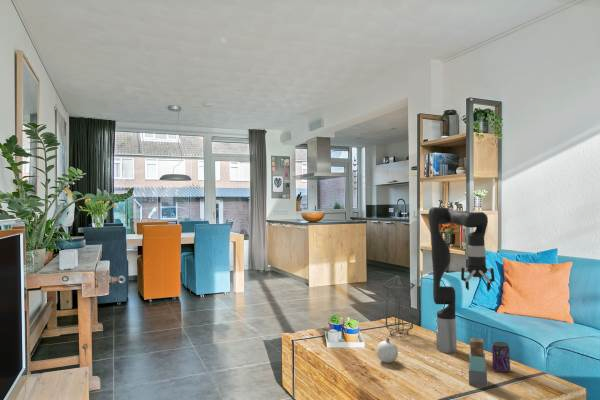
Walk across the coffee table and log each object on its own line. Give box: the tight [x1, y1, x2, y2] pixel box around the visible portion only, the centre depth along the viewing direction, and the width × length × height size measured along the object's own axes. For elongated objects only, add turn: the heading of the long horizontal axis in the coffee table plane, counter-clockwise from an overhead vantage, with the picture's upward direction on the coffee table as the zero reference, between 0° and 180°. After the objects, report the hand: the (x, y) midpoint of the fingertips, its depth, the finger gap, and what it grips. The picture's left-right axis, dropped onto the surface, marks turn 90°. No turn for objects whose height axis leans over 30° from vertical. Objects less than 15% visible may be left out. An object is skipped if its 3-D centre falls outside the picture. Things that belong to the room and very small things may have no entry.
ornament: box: [376, 337, 399, 364], centre depth 204 cm, size 10×10×12 cm
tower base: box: [468, 364, 488, 388], centre depth 177 cm, size 7×7×6 cm
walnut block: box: [469, 337, 485, 357], centre depth 177 cm, size 5×5×6 cm
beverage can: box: [491, 341, 511, 373], centre depth 190 cm, size 7×7×12 cm
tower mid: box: [468, 351, 486, 372], centre depth 177 cm, size 6×6×6 cm
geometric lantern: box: [380, 275, 416, 338], centre depth 248 cm, size 16×16×35 cm
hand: (478, 290), depth 193 cm, fingers open, 8 cm apart
